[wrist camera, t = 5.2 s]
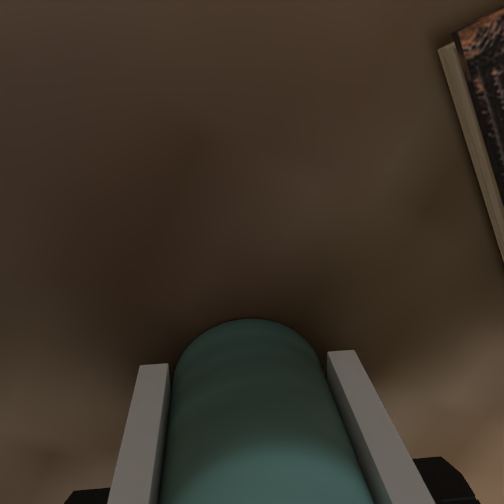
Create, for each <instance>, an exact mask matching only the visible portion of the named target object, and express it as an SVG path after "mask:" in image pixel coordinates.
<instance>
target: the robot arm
mask: <svg viewBox="0 0 504 504" xmlns="http://www.w3.org/2000/svg"><path fill="white" fill-rule="evenodd" d="M326 380H327V382H328V385H329V387H330V390H331V392H332V395H333V398H334V400H335V403H336V405H337V408H338V410H339V413H340V416H341V418H342V421H343V423H344V426H345V429H346V431H347V434H348V436H349V439H350V441H351V444H352V447H353V449H354V452H355V454H356V457H357V459H358V462H359V465H360V467H361V470H362V472H363V475H364V478H365V480H366V483H367V485H368V488H369V490H370V493H371V496H372V498H373V501H374V503H375V504H480V502H479V501H478V500H476V498H475V494H474V493H473V491H472V490H471V488H470V486H469V485H468V483H467V482H466V480H465V479H464V477H463V475H462V474H461V473H460V472H459V471H458V470H456V469H455V468H454V467H453V466H452V465H451V464H449V463H448V462H447V461H446V460H445V459H443V458H442V457H430V458H419V459H412V458H411V456H410V454H409V453H408V451H407V449H406V447H405V445H404V443H403V441H402V439H401V437H400V436H399V434H398V432H397V430H396V428H395V426H394V424H393V422H392V420H391V419H390V417H389V415H388V413H387V411H386V409H385V407H384V405H383V403H382V402H381V400H380V398H379V396H378V394H377V392H376V390H375V388H374V386H373V385H372V383H371V381H370V379H369V377H368V375H367V373H366V371H365V369H364V368H363V366H362V364H361V362H360V360H359V358H358V356H357V354H356V352H355V351H354V350H344V351H330V352H327V377H326ZM170 402H171V385H170V376H169V366H168V363H164V364H150V365H140V367H139V371H138V375H137V379H136V384H135V388H134V392H133V396H132V401H131V405H130V409H129V413H128V418H127V422H126V426H125V430H124V434H123V439H122V443H121V447H120V451H119V456H118V460H117V464H116V468H115V473H114V477H113V481H112V485H111V488H101V489H89V490H78V491H73V493H72V494H71V495H70V496H69V498H68V499H67V500H66V501H65V503H64V504H159V497H160V488H161V479H162V471H163V462H164V454H165V445H166V436H167V428H168V419H169V411H170Z"/></svg>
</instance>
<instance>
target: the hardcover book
mask: <svg viewBox="0 0 504 504" xmlns="http://www.w3.org/2000/svg"><path fill="white" fill-rule="evenodd" d="M452 36H453V39H454V42H452V43H450V44H448V45H446V46H444V47H442V48H440V49H438V50H437V51H438V54H439V57H440V60H441V64H442V67H443V70H444V73H445V76H446V79H447V83H448V86H449V89H450V92H451V95H452V99H453V102H454V105H455V108H456V111H457V115H458V118H459V121H460V124H461V127H462V131H463V134H464V137H465V140H466V143H467V147H468V150H469V153H470V156H471V159H472V163H473V166H474V169H475V172H476V175H477V179H478V182H479V185H480V188H481V191H482V194H483V198H484V201H485V204H486V207H487V210H488V214H489V217H490V220H491V223H492V226H493V230H494V233H495V236H496V239H497V242H498V246H499V249H500V252H501V255H502V258H503V262H504V7H502V8H500V9H498V10H496V11H494V12H492V13H490V14H488V15H486V16H484V17H482V18H480V19H478V20H476V21H474V22H473V23H471V24H469V25H467V26H465V27H463V28H461V29H459V30H457V31H455V32H453V33H452Z"/></svg>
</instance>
